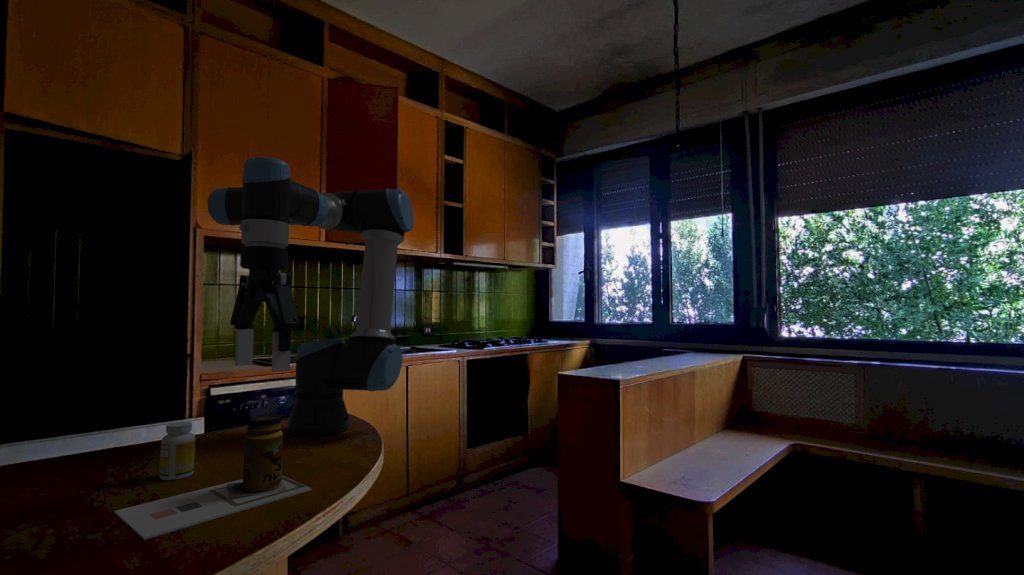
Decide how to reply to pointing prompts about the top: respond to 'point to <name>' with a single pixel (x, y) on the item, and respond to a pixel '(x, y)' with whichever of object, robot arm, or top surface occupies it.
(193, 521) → the sheet
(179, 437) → the supplement bottle
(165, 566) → the top surface
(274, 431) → the condiment
